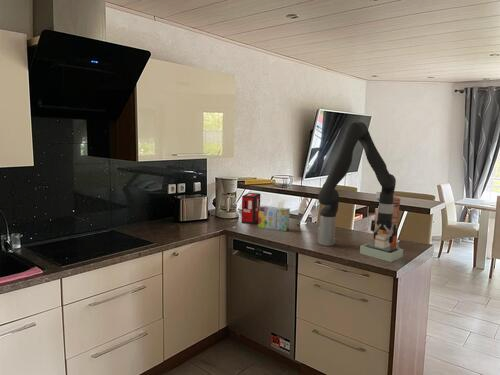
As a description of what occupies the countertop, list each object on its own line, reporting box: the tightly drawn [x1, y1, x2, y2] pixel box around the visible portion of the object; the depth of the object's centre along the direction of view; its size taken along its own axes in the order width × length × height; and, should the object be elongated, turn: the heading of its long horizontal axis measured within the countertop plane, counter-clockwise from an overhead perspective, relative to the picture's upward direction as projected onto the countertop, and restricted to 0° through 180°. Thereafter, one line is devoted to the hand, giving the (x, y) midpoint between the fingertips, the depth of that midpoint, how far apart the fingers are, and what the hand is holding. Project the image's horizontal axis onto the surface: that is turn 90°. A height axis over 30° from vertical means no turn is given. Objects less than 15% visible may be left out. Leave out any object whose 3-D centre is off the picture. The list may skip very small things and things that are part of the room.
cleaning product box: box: [241, 192, 261, 225], centre depth 279 cm, size 16×9×20 cm, turn 163°
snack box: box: [257, 204, 291, 232], centre depth 259 cm, size 21×6×15 cm, turn 63°
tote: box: [359, 241, 404, 263], centre depth 206 cm, size 18×13×5 cm
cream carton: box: [374, 234, 390, 249], centre depth 204 cm, size 5×7×6 cm
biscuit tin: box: [368, 243, 398, 253], centre depth 205 cm, size 12×9×5 cm
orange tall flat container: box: [372, 191, 401, 247], centre depth 228 cm, size 23×8×30 cm, turn 174°
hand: (382, 241), depth 204 cm, fingers open, 8 cm apart
